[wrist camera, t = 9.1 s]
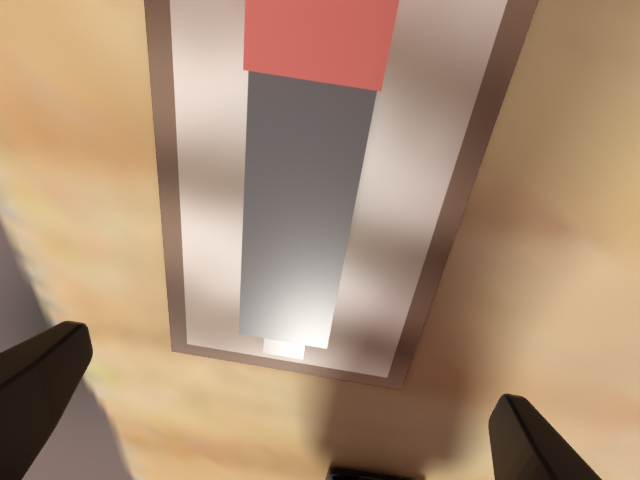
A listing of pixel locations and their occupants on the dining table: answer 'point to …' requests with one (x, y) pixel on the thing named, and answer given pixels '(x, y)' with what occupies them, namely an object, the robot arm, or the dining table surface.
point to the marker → (304, 158)
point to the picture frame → (374, 186)
